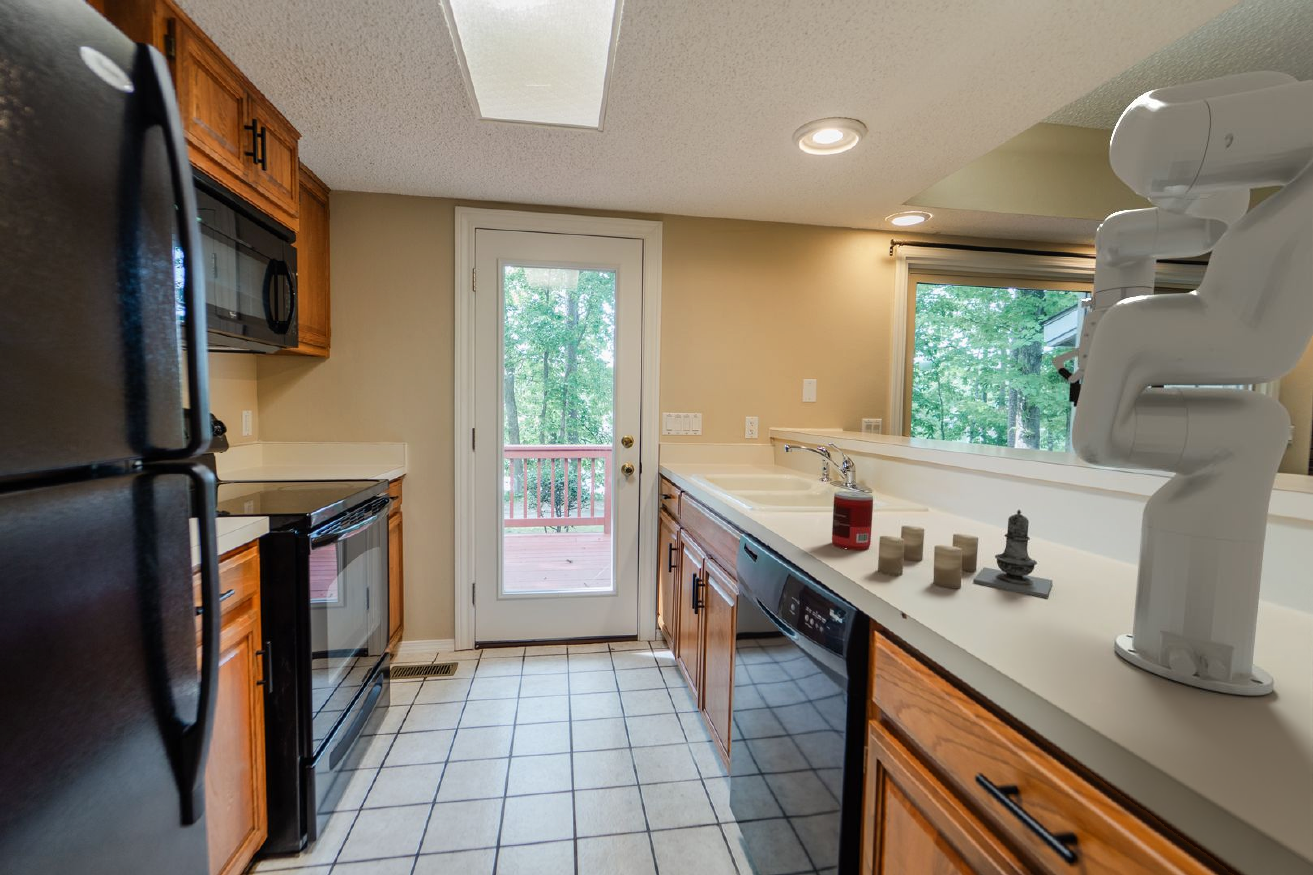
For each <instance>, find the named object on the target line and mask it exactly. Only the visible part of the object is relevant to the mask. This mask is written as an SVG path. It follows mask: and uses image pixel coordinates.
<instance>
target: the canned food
mask: <svg viewBox="0 0 1313 875" xmlns="http://www.w3.org/2000/svg"><path fill="white" fill-rule="evenodd" d="M873 508H874V495H873V494H870V493H865V492H859V491H848V490H847V491H845V490H844V491H841V490H840V491H835V492H834V496H833V513H832V528H831V531H832V532H831V542H832V545H833V544H834V546H835V547H836V546H837V548H839V547H840V549H843V548H847V549H846V550H849V549H853V550H852V551H865V549H866V550H868V549H869V548H870V546H871V543H872V542H871V541H872V526H873V510H874V509H873ZM854 549H855V550H854Z"/></svg>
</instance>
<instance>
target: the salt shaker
mask: <svg viewBox="0 0 1313 875" xmlns="http://www.w3.org/2000/svg"><path fill="white" fill-rule="evenodd" d="M1021 513H1022V511H1021V510H1020V509H1018V510H1017V511H1016V513H1015V514H1013V515H1010V516H1009V517H1008V520H1007V522H1008V523H1007V532H1006V533H1005V534H1004V537H1005V538H1006V539H1005V540H1006V541H1005V543H1006V544H1005V548H1004V550H1003V552H1002V553H1000V554H999V553H998V554H995V555H994V558H995V559H996V564H997V566H998V569H999V570H1002V571H1003V572H1006V573H1000V574H998V575H996V576H995V577H996V578H997V579H999V580H1001V581H1004V582H1008V583H1012V584H1018V585H1032V584H1033V581H1031V580H1030V579H1029V578H1027V577H1024V576H1025V575H1028V576H1029V575H1030V574H1031V573H1033V571H1034V569H1035V566H1037V564H1038V562H1037V561H1036V560H1035V559H1032V558H1031V557H1030V556H1029V552H1028V543H1029V541H1030V540H1031V538H1030V537H1029V535H1028V534H1029V519H1028V518H1027V517H1026V516H1024V515H1022V514H1021Z"/></svg>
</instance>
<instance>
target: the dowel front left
mask: <svg viewBox="0 0 1313 875" xmlns="http://www.w3.org/2000/svg"><path fill="white" fill-rule="evenodd" d="M904 542H905V540H904V539H902V538H901V537H898V536H892V535H881V536H879V544H878V559H877V560H878V562H877V563H878V564H877V572H878V571H879V572H878V573H880V572H881V573H880V574H883V575H886V574H889V575H888V576H892V575H894V576H895V577H898V576H899V575H900V576H903V572H904V560H905V559H904Z"/></svg>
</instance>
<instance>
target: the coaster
mask: <svg viewBox="0 0 1313 875" xmlns="http://www.w3.org/2000/svg"><path fill="white" fill-rule="evenodd" d="M1000 573H1006V572H1003V571H1002V570H1001V569H996V568H992V567H991V568H990V567H986V566H985V567H982V568H981V570H980V571H979V572H978V573H977V575H976V576H974V578H973V581H972V582H973V584H978V585H983V586H987V587H992V588H997V589H1002V590H1005V591H1009V592H1010V591H1011V592H1016V593H1020V594H1025V595H1029V596H1030V595H1031V596H1035V597H1040V598H1045V599H1048V597H1049V594H1050V593H1051V588H1052V586H1053V580H1052V579H1048V578H1042V577H1038V576H1032V575H1029V574H1028V575H1025V576H1024V577H1027V578H1029V579H1030V580H1031V581H1033V584H1032V585H1018V584H1012V583H1008V582H1004V581H1001V580H999V579H997V578H996V577H995V576H996V575H998V574H1000Z"/></svg>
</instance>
